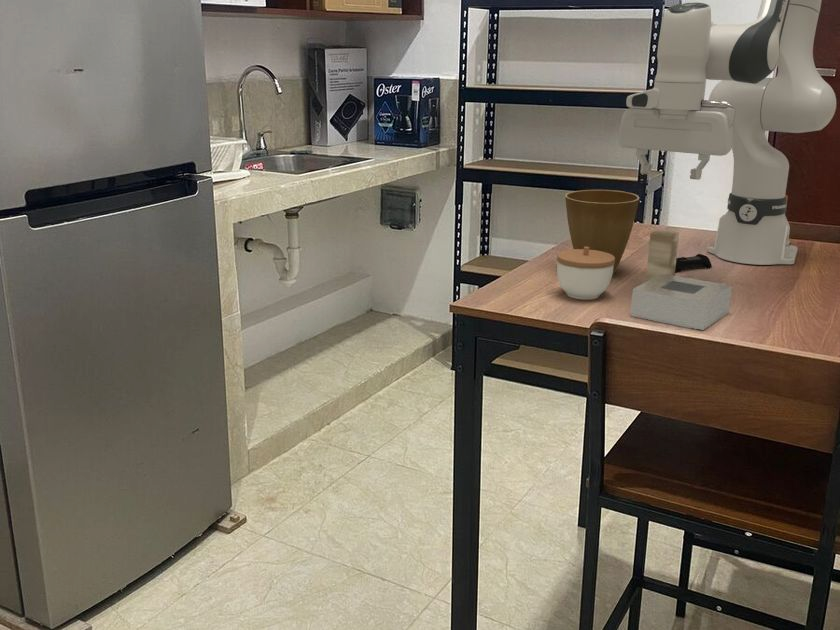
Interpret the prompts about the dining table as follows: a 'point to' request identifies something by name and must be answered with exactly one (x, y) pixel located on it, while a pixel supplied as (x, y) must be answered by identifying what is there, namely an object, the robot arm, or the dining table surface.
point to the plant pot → (601, 220)
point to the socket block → (681, 301)
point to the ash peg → (662, 253)
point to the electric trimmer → (692, 262)
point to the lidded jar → (584, 272)
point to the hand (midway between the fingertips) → (670, 176)
